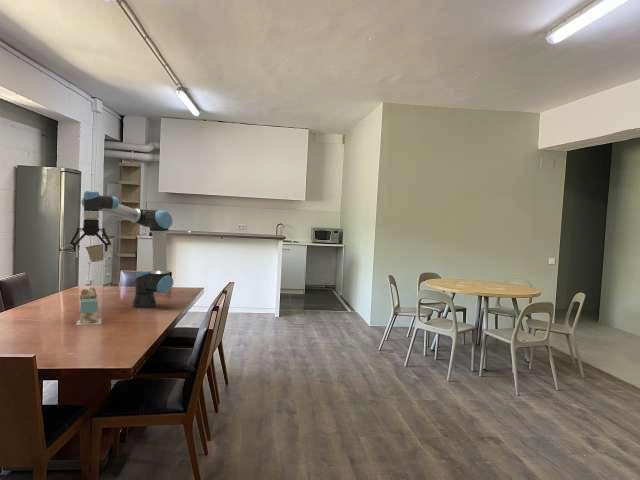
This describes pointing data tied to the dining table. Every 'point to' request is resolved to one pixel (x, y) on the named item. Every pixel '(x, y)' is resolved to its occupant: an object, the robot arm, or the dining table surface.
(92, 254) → the flower pot
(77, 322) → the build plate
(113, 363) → the dining table surface
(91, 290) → the toy
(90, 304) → the teal block
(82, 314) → the beech block
